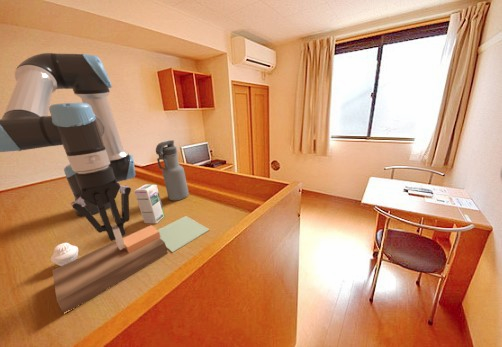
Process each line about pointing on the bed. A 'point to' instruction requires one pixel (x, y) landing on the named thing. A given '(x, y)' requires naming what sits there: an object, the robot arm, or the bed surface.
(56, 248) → the white steamed bun
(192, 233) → the mat
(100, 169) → the robot arm
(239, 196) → the bed surface
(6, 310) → the bed surface
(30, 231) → the bed surface
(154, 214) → the syrup box
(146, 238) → the orange rectangular block
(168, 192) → the water bottle
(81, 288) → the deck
